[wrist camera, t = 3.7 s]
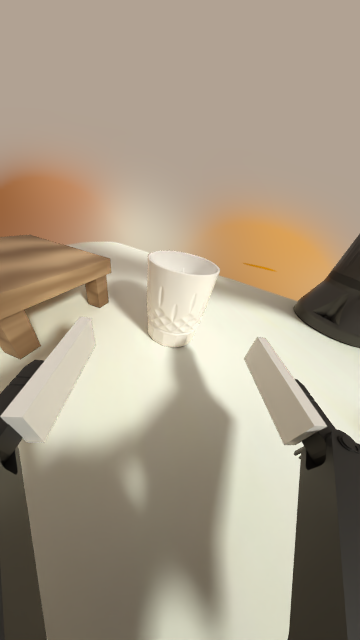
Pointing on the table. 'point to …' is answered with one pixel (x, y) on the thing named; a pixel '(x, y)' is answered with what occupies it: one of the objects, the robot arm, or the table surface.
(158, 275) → the white cup
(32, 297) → the stool
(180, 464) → the table surface
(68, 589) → the table surface
